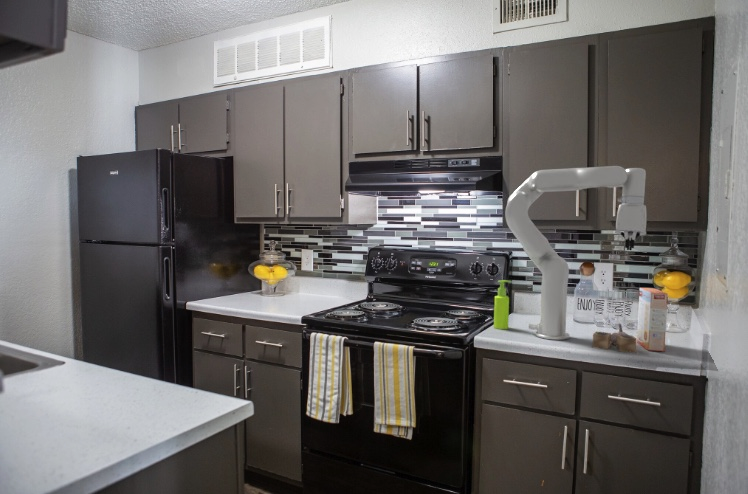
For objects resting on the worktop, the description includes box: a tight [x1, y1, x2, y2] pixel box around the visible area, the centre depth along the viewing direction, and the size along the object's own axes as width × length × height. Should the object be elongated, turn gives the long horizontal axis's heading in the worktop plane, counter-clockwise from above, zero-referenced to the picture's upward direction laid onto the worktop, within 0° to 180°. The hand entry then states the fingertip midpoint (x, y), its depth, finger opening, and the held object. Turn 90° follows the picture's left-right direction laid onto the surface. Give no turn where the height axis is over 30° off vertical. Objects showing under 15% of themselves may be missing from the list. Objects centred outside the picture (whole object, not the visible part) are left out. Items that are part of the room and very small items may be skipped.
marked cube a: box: [616, 334, 637, 354], centre depth 189 cm, size 5×5×5 cm
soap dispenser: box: [493, 279, 513, 330], centre depth 224 cm, size 6×7×20 cm
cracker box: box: [636, 287, 669, 352], centre depth 194 cm, size 14×6×21 cm, turn 168°
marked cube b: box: [592, 331, 612, 350], centre depth 193 cm, size 5×5×5 cm
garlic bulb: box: [611, 322, 629, 346], centre depth 198 cm, size 8×7×8 cm
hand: (629, 249), depth 202 cm, fingers closed
